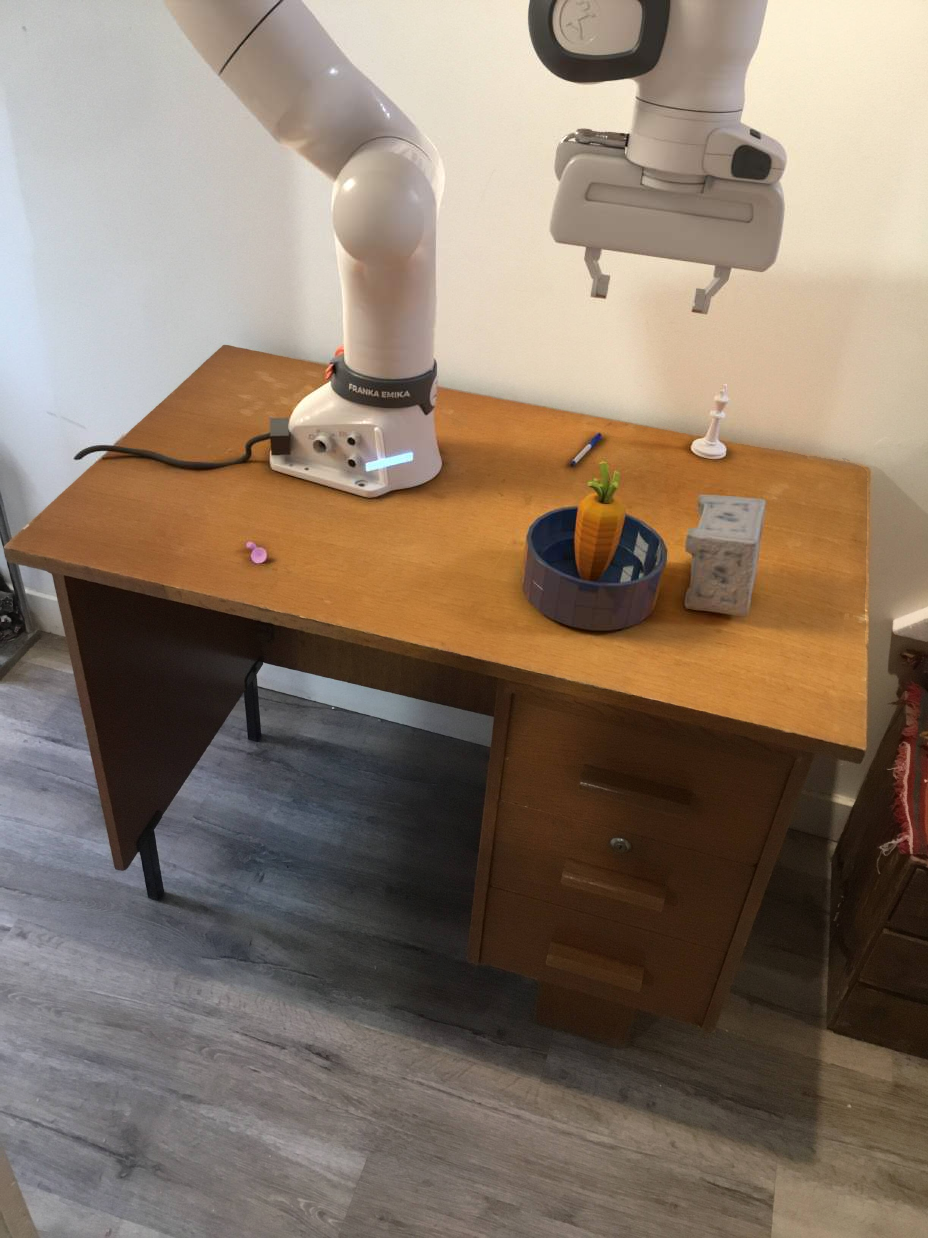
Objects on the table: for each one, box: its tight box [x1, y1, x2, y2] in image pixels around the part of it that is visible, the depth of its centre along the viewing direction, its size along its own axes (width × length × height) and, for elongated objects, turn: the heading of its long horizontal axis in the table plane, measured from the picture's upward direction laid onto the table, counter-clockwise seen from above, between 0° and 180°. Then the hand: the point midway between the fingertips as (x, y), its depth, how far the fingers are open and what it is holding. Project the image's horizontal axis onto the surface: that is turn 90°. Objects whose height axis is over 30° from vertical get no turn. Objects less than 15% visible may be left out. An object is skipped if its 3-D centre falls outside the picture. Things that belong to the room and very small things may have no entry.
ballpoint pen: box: [569, 432, 603, 467], centre depth 126 cm, size 10×1×1 cm, turn 153°
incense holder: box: [684, 493, 767, 617], centre depth 99 cm, size 10×8×10 cm
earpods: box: [246, 541, 268, 564], centre depth 103 cm, size 3×2×2 cm
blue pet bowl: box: [520, 505, 668, 632], centre depth 99 cm, size 15×15×6 cm
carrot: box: [575, 461, 627, 582], centre depth 96 cm, size 5×5×15 cm
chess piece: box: [690, 383, 730, 460], centre depth 126 cm, size 5×5×10 cm
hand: (648, 303), depth 85 cm, fingers open, 8 cm apart
